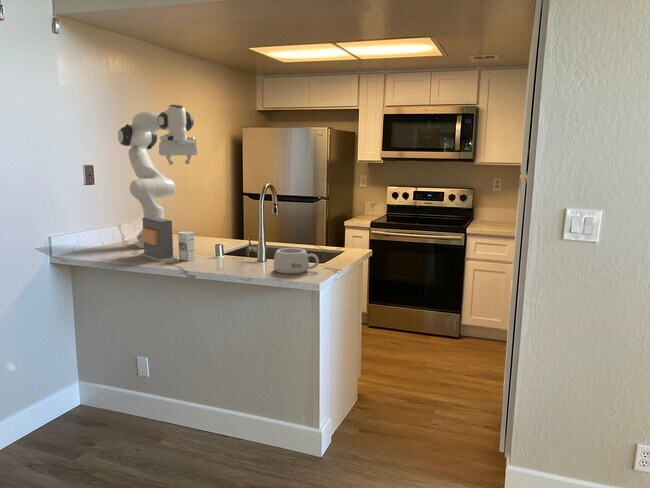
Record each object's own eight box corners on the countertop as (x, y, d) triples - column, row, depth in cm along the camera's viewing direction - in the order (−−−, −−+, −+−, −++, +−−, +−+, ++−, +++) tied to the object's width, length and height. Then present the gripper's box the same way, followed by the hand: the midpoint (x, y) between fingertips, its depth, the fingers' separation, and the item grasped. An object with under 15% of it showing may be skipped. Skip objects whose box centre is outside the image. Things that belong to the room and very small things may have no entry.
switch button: (143, 241, 274) (142, 228, 272) (148, 241, 276) (147, 227, 275) (153, 244, 265) (153, 231, 264) (159, 244, 267) (158, 230, 266)
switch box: (140, 255, 279) (138, 217, 276) (156, 252, 285) (154, 216, 282) (160, 261, 264) (158, 222, 260) (176, 259, 270) (175, 220, 266)
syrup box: (195, 259, 271) (194, 231, 268) (187, 261, 266) (186, 233, 263) (186, 258, 273) (185, 230, 271) (178, 260, 268) (177, 232, 266)
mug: (271, 275, 241) (271, 253, 239) (275, 266, 257) (275, 246, 255) (318, 275, 241) (318, 254, 239) (318, 267, 257) (319, 247, 256)
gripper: (193, 137, 280) (193, 163, 283) (156, 136, 266) (158, 164, 269) (199, 137, 275) (199, 164, 278) (162, 137, 261) (163, 165, 264)
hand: (179, 164), depth 273 cm, fingers open, 8 cm apart
